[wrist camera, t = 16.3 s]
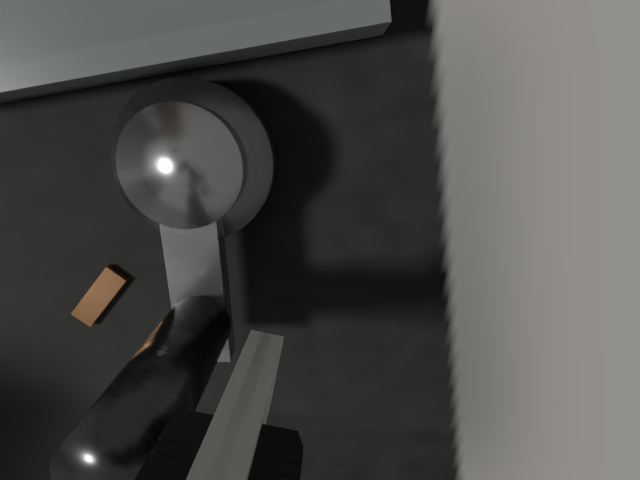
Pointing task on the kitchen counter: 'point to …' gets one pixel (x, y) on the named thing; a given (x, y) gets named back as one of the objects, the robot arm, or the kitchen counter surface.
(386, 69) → the kitchen counter surface
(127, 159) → the crank
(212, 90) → the crank base
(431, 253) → the kitchen counter surface
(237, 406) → the robot arm
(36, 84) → the tray
